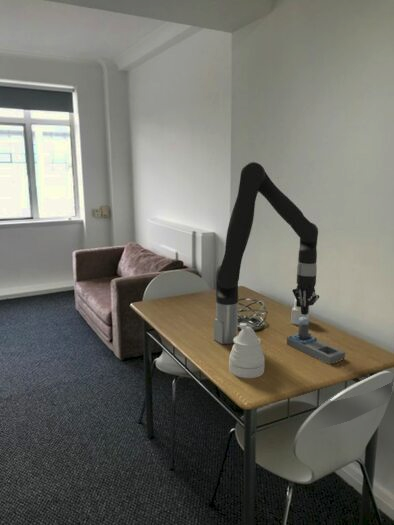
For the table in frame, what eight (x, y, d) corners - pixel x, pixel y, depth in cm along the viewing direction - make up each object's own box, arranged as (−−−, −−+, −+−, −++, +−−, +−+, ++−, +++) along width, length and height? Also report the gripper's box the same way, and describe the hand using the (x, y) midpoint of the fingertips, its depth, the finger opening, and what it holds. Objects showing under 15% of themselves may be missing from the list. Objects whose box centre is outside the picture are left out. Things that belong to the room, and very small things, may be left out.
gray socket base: (344, 359, 164) (345, 347, 163) (329, 364, 159) (330, 352, 158) (301, 339, 182) (302, 328, 181) (286, 344, 178) (287, 332, 177)
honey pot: (239, 380, 147) (240, 332, 143) (222, 365, 159) (223, 320, 155) (271, 373, 152) (273, 326, 148) (252, 359, 164) (254, 315, 160)
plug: (302, 348, 173) (304, 320, 171) (295, 345, 177) (297, 317, 174) (309, 346, 175) (311, 319, 173) (302, 343, 179) (304, 316, 176)
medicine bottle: (308, 321, 204) (310, 297, 202) (305, 326, 198) (307, 301, 195) (293, 319, 207) (295, 295, 205) (290, 323, 201) (291, 299, 198)
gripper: (288, 271, 173) (286, 311, 177) (312, 277, 162) (310, 320, 166) (301, 268, 177) (299, 308, 181) (326, 275, 166) (323, 317, 170)
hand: (304, 314), depth 173 cm, fingers closed
